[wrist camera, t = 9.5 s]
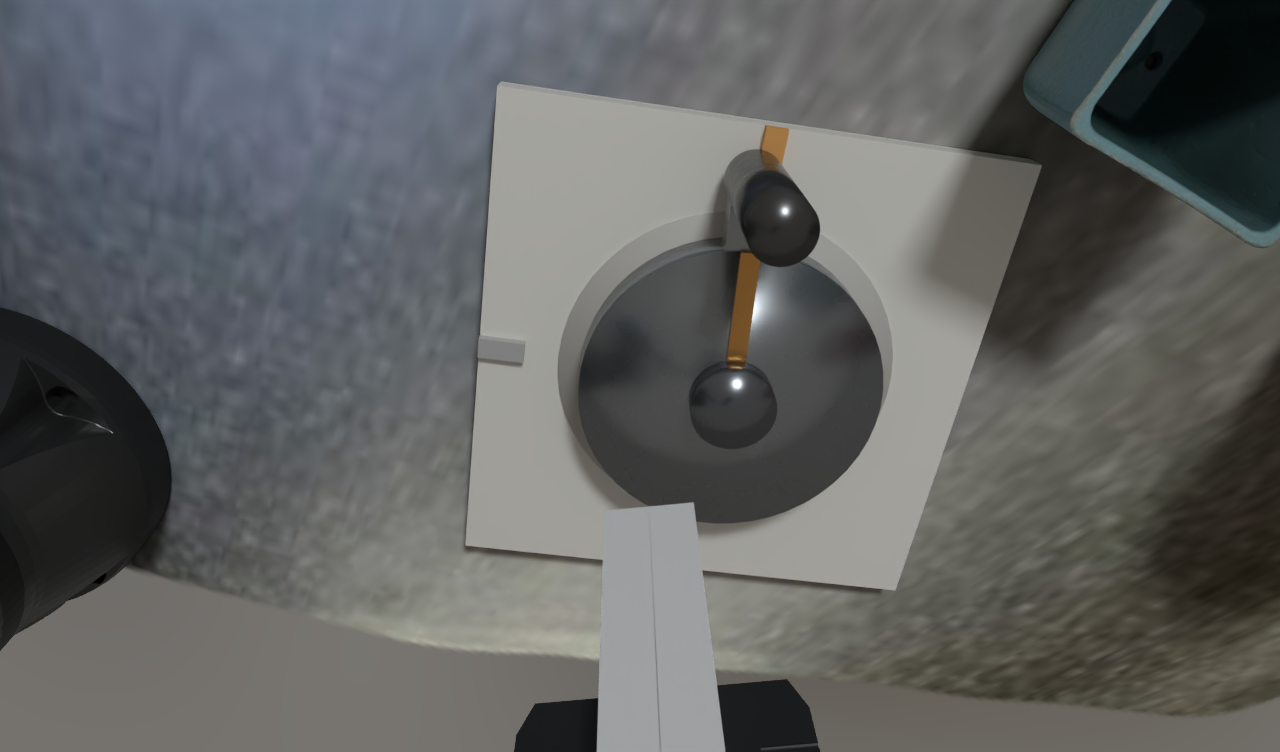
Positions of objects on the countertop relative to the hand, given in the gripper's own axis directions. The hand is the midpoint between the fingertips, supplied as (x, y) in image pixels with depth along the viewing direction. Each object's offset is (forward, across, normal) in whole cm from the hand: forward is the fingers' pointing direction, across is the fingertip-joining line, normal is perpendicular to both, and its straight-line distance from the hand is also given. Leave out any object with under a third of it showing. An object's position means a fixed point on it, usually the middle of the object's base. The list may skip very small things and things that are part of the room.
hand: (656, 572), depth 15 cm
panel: (+24, +3, -8) cm, 26 cm away
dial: (+23, +4, -6) cm, 24 cm away
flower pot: (+25, +20, +4) cm, 32 cm away
